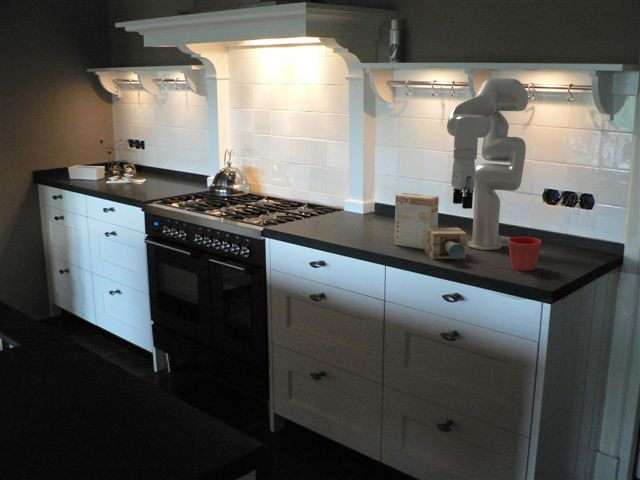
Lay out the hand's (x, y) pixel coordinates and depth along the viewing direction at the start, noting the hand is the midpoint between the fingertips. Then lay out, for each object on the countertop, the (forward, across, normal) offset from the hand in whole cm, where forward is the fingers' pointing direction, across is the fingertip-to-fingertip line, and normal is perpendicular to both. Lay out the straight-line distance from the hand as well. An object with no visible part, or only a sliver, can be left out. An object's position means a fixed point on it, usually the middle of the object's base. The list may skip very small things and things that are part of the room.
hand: (462, 206), depth 236 cm
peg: (+19, -10, +1) cm, 22 cm away
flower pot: (+21, +2, +22) cm, 31 cm away
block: (+21, -18, +1) cm, 28 cm away
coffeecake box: (+21, -33, -6) cm, 40 cm away
